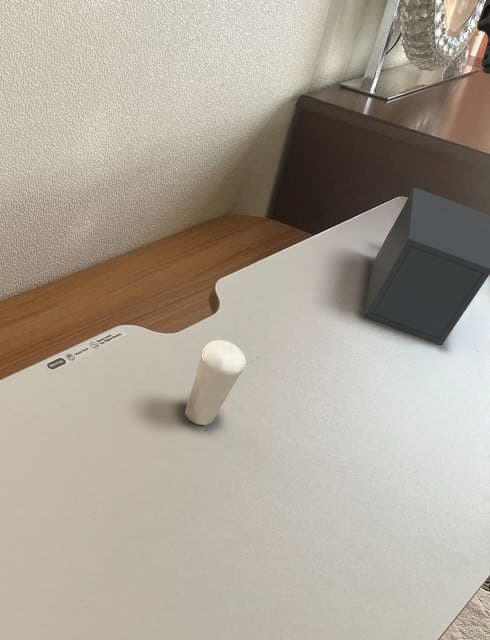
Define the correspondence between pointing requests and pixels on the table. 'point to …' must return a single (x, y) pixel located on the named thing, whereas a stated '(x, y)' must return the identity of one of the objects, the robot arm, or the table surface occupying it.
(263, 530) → the table surface
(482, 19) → the robot arm
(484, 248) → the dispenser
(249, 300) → the table surface
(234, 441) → the table surface
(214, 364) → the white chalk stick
